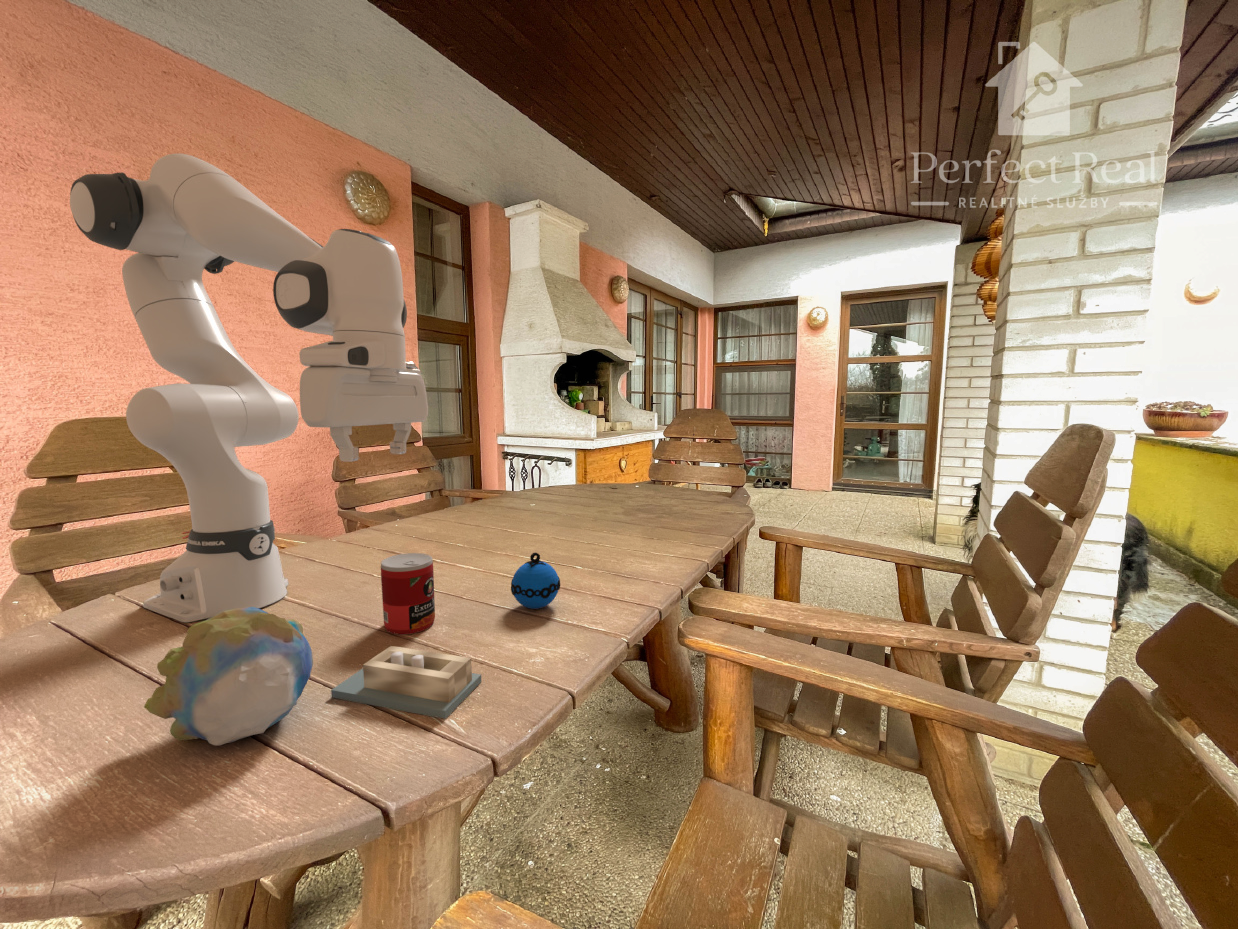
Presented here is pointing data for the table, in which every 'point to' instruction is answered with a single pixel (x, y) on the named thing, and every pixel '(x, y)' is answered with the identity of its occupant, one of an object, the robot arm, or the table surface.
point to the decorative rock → (233, 676)
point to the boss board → (358, 693)
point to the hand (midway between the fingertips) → (375, 457)
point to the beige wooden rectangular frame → (419, 674)
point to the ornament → (535, 583)
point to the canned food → (408, 593)
